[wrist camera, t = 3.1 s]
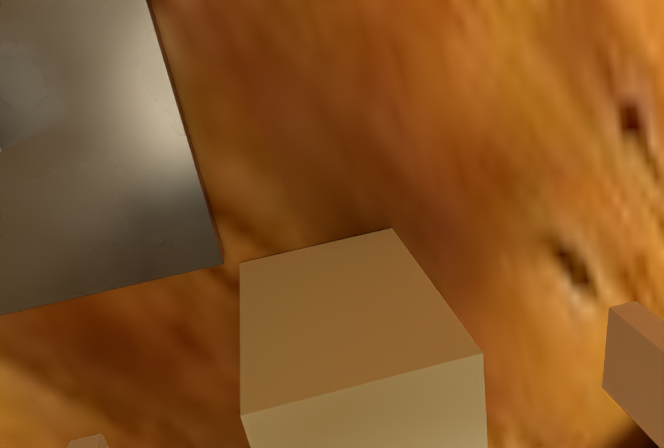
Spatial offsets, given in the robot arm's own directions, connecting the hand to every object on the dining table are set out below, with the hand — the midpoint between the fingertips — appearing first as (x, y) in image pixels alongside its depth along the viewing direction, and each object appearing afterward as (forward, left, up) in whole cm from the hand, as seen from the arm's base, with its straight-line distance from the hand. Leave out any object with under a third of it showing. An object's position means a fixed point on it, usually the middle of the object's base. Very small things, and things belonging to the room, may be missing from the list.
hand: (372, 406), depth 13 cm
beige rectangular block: (0, 0, -5) cm, 5 cm away
